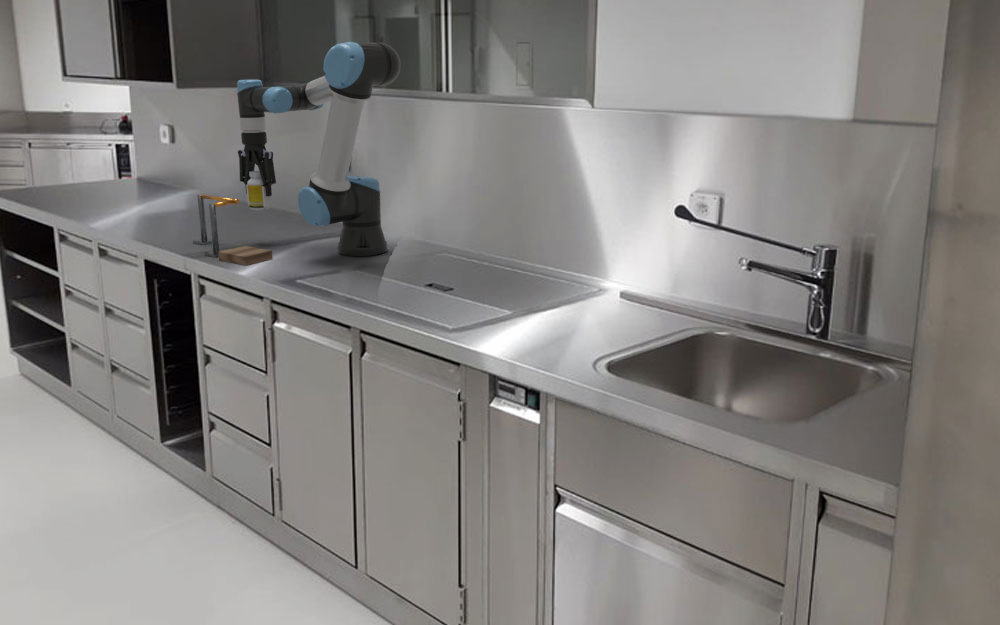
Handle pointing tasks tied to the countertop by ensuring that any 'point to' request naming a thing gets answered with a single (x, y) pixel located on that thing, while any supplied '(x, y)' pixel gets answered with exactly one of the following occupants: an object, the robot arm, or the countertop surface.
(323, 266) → the countertop surface
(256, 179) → the pill bottle
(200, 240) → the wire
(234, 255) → the pad
